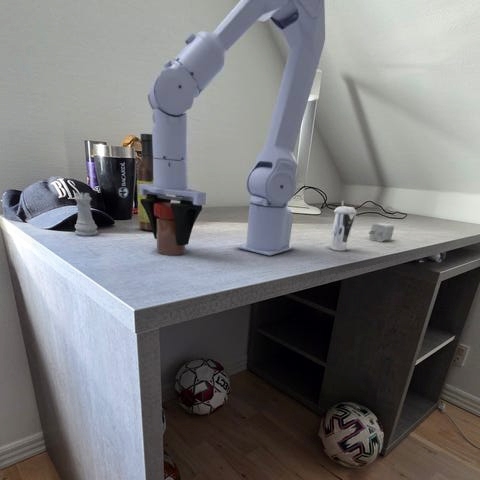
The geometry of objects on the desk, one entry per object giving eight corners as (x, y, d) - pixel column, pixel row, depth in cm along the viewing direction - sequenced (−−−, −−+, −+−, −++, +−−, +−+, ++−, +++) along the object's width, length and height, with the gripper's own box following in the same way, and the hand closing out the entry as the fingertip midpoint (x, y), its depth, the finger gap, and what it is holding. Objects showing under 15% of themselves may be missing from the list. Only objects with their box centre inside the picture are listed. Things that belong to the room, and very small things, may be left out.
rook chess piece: (76, 231, 73) (71, 191, 70) (99, 231, 74) (95, 192, 71) (73, 236, 69) (68, 194, 66) (97, 236, 71) (93, 195, 67)
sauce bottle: (163, 232, 79) (161, 134, 70) (135, 230, 78) (130, 131, 70) (169, 227, 84) (167, 136, 76) (143, 225, 84) (139, 134, 76)
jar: (170, 246, 67) (169, 206, 64) (191, 251, 65) (192, 209, 62) (150, 251, 63) (149, 207, 60) (172, 256, 61) (172, 211, 58)
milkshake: (343, 246, 79) (353, 201, 75) (351, 252, 75) (361, 204, 70) (324, 245, 79) (332, 199, 75) (330, 250, 74) (339, 202, 70)
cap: (170, 219, 57) (169, 207, 57) (146, 214, 61) (146, 203, 60) (194, 217, 62) (194, 206, 61) (172, 212, 65) (172, 201, 64)
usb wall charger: (390, 240, 91) (394, 225, 89) (378, 242, 87) (382, 226, 85) (376, 237, 94) (380, 222, 92) (363, 239, 89) (367, 223, 88)
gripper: (123, 155, 58) (127, 236, 64) (184, 161, 51) (183, 252, 56) (155, 158, 63) (157, 232, 69) (215, 163, 56) (212, 246, 62)
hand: (171, 241), depth 63 cm, fingers closed on cap, 5 cm apart
